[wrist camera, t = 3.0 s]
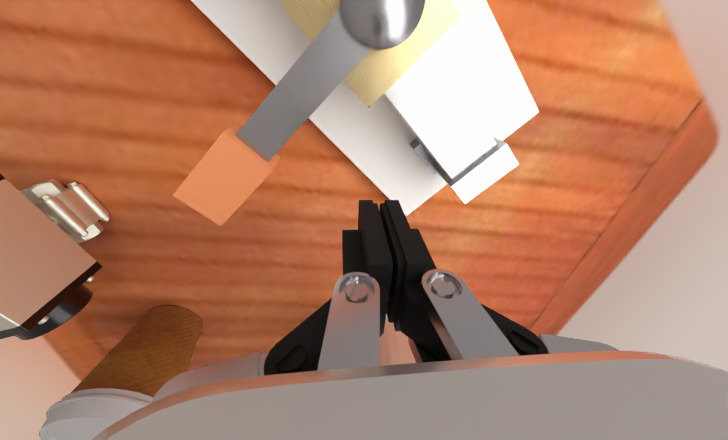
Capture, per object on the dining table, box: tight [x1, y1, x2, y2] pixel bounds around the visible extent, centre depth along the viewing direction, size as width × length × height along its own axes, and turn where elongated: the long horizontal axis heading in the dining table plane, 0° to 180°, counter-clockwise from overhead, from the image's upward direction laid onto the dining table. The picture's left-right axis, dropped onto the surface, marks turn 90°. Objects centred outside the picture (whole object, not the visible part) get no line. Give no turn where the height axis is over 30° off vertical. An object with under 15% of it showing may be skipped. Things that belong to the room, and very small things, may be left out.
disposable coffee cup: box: [39, 305, 202, 440], centre depth 27 cm, size 10×10×12 cm
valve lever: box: [173, 0, 425, 226], centre depth 12 cm, size 14×3×2 cm, turn 133°
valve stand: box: [191, 0, 539, 216], centre depth 15 cm, size 28×14×8 cm, turn 43°
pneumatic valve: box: [0, 174, 110, 340], centre depth 18 cm, size 6×12×12 cm, turn 14°
